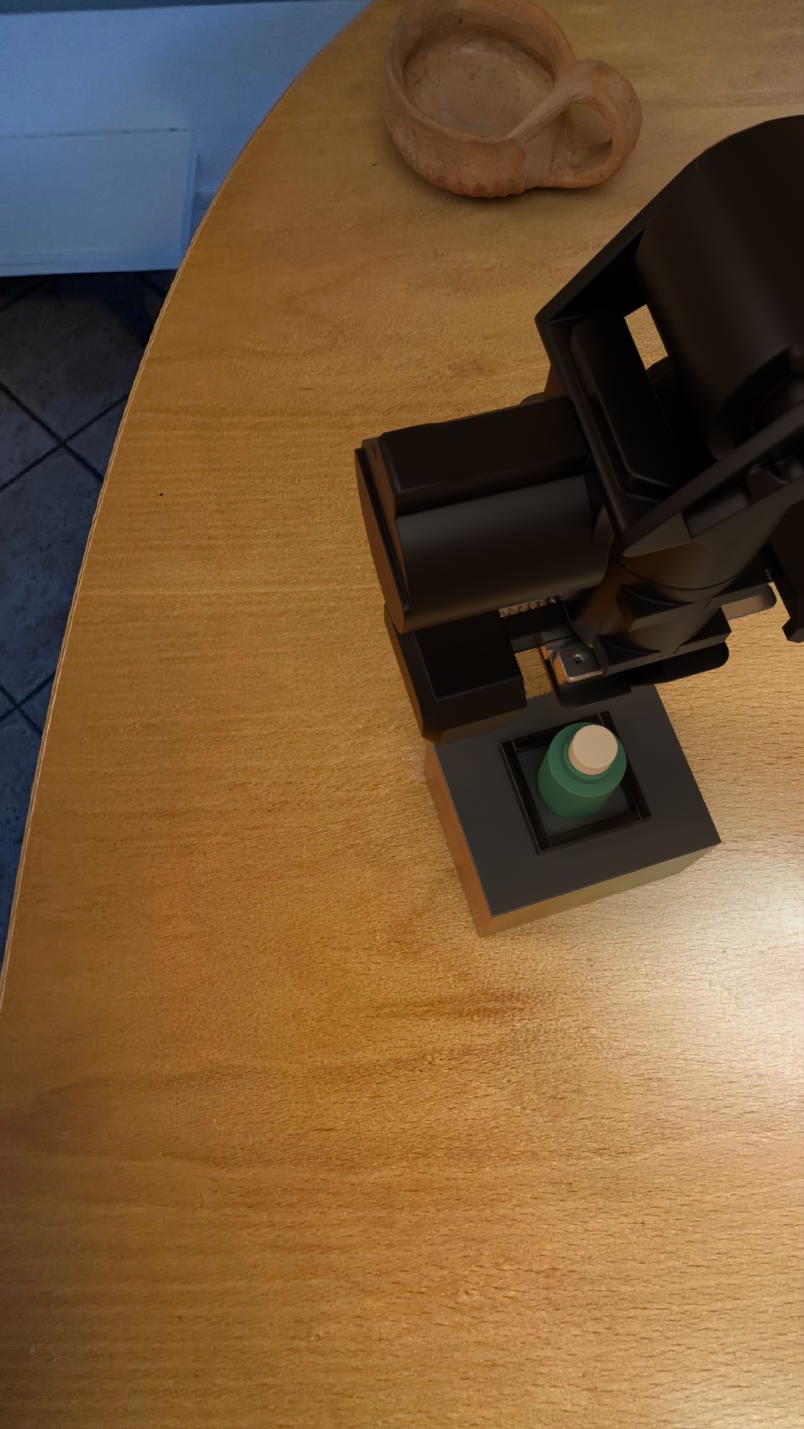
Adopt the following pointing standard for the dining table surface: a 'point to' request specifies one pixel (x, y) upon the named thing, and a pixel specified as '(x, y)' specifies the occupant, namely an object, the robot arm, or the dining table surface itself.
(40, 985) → the dining table surface
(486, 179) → the bowl
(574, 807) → the bottle
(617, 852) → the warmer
